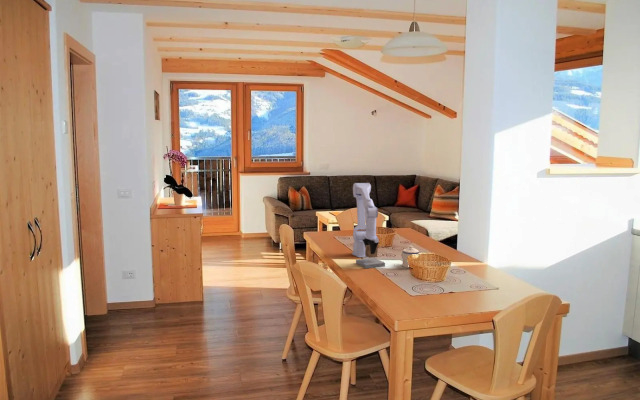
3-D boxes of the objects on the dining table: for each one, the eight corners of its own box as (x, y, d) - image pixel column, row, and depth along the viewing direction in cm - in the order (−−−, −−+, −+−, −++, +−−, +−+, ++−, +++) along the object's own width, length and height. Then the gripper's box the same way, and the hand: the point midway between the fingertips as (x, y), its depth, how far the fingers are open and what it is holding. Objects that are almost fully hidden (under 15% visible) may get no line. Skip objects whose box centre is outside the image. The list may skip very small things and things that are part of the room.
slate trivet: (355, 263, 281) (355, 259, 281) (374, 261, 286) (374, 257, 285) (365, 268, 270) (365, 265, 270) (384, 266, 275) (384, 262, 274)
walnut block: (365, 255, 278) (365, 245, 278) (372, 255, 280) (373, 244, 280) (369, 257, 274) (369, 247, 273) (377, 257, 276) (377, 246, 275)
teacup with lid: (422, 267, 273) (422, 246, 271) (409, 269, 269) (409, 248, 267) (408, 262, 283) (408, 242, 282) (395, 264, 279) (396, 244, 277)
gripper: (383, 230, 270) (383, 254, 272) (370, 226, 283) (370, 249, 285) (372, 231, 267) (371, 256, 269) (360, 227, 280) (359, 250, 282)
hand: (370, 252), depth 277 cm, fingers closed on walnut block, 5 cm apart
